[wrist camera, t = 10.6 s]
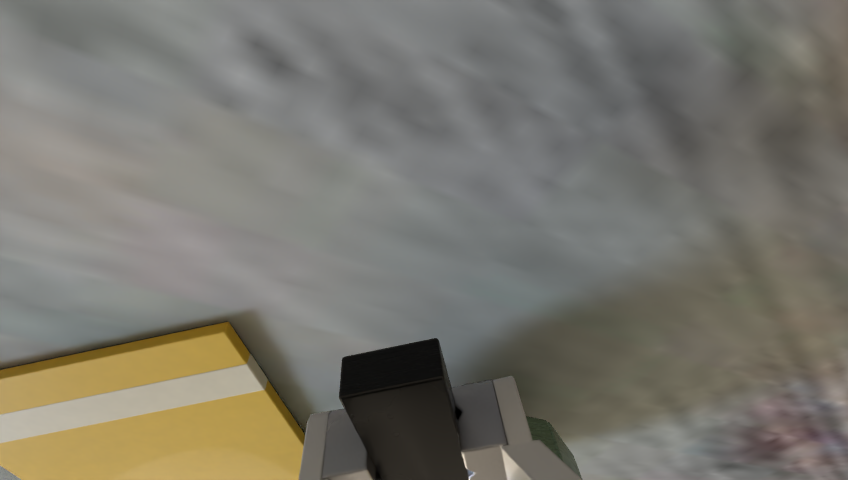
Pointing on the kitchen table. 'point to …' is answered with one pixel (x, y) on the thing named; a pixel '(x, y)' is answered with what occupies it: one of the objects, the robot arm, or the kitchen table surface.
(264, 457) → the towel
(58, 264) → the kitchen table surface
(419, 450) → the green saucepan
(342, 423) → the robot arm
